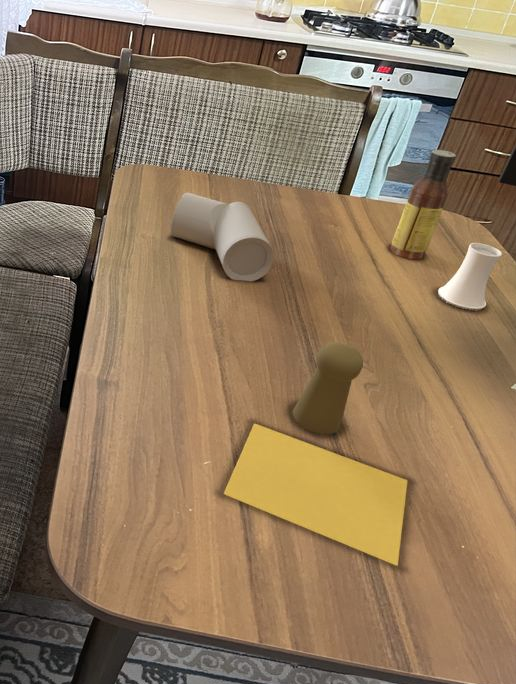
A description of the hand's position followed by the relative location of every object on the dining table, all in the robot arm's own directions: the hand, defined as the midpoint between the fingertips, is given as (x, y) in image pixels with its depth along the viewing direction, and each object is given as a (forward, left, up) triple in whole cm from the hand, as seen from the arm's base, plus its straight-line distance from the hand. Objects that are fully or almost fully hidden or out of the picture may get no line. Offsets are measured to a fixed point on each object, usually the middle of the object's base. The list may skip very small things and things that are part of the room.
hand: (510, 183), depth 89 cm
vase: (-4, -20, -27) cm, 34 cm away
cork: (+12, +28, -27) cm, 41 cm away
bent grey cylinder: (+36, -10, -27) cm, 46 cm away
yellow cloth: (+10, +41, -26) cm, 50 cm away
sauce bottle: (+6, -35, -27) cm, 44 cm away
